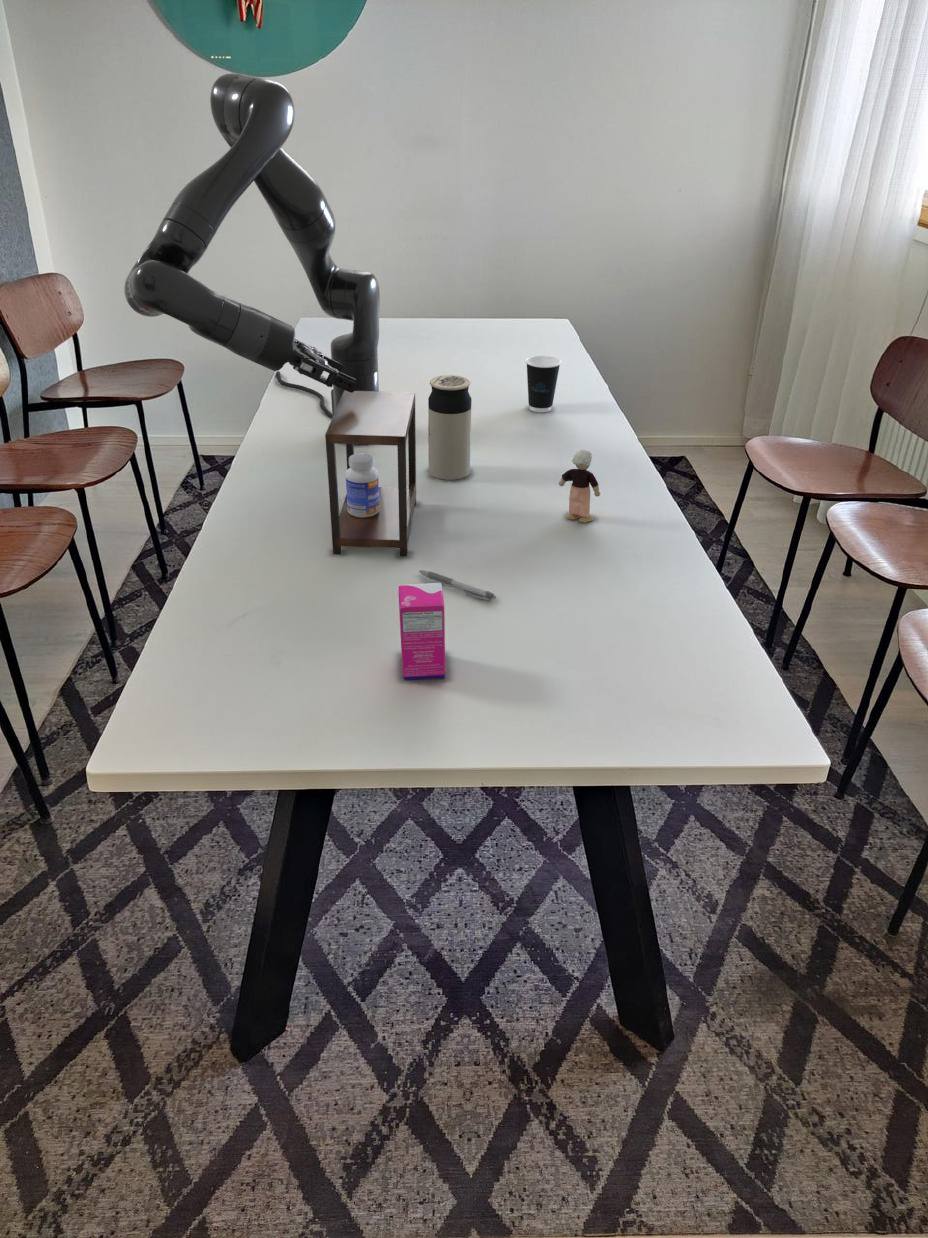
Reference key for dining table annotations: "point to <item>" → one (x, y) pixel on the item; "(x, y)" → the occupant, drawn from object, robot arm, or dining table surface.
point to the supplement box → (422, 631)
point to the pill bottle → (362, 486)
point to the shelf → (379, 424)
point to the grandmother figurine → (580, 486)
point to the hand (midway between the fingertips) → (347, 378)
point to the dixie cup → (542, 381)
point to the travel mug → (449, 427)
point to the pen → (459, 585)
